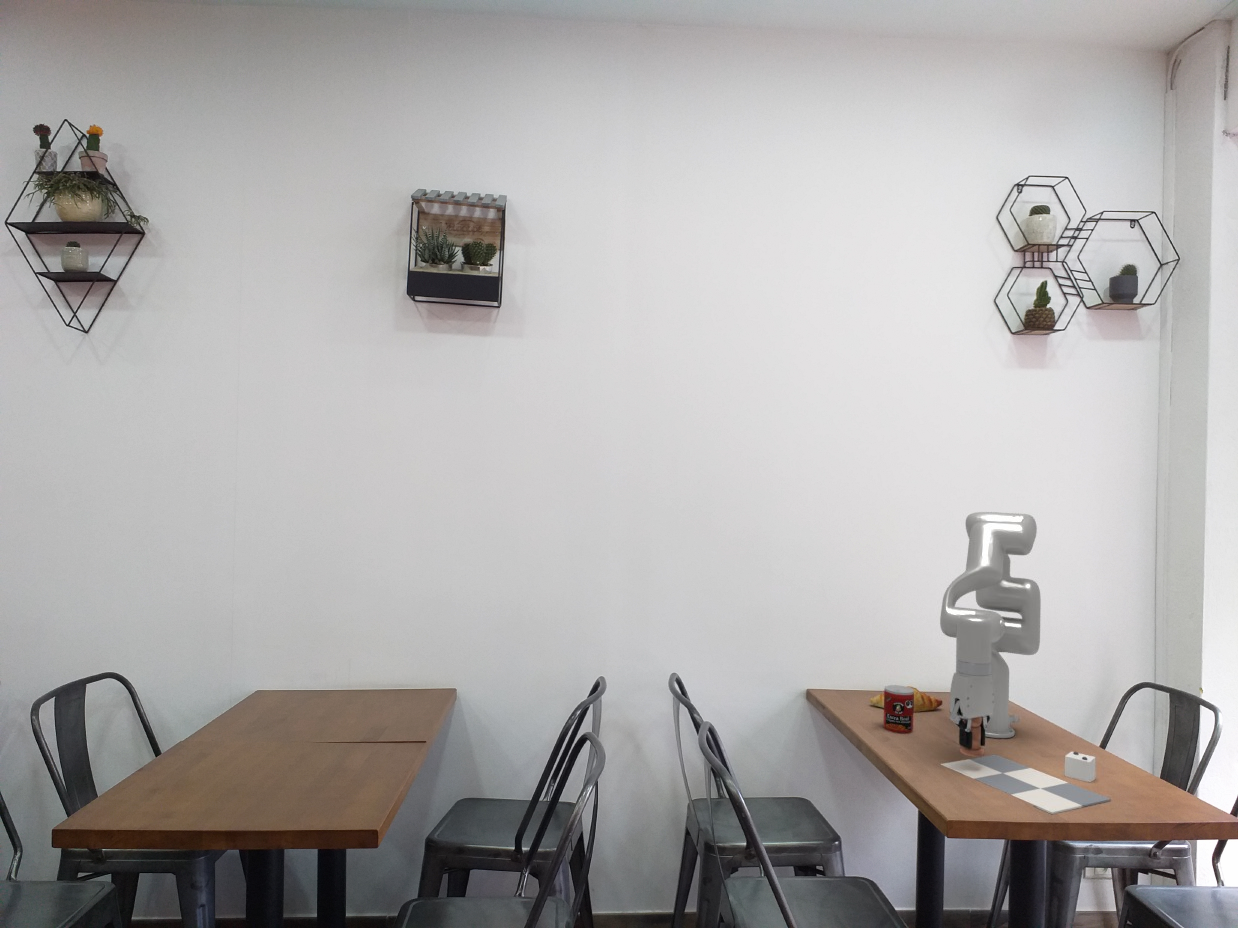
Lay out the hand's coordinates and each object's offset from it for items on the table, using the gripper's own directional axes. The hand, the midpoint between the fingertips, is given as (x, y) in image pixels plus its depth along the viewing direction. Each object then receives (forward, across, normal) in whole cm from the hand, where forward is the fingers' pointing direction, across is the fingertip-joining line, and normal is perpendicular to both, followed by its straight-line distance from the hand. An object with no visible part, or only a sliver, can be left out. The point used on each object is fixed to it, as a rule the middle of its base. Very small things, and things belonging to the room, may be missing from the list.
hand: (972, 744), depth 181 cm
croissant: (+8, -24, -44) cm, 50 cm away
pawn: (+2, 0, 0) cm, 2 cm away
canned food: (+7, -6, -29) cm, 30 cm away
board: (+6, -4, +10) cm, 12 cm away
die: (+6, -20, +13) cm, 25 cm away
